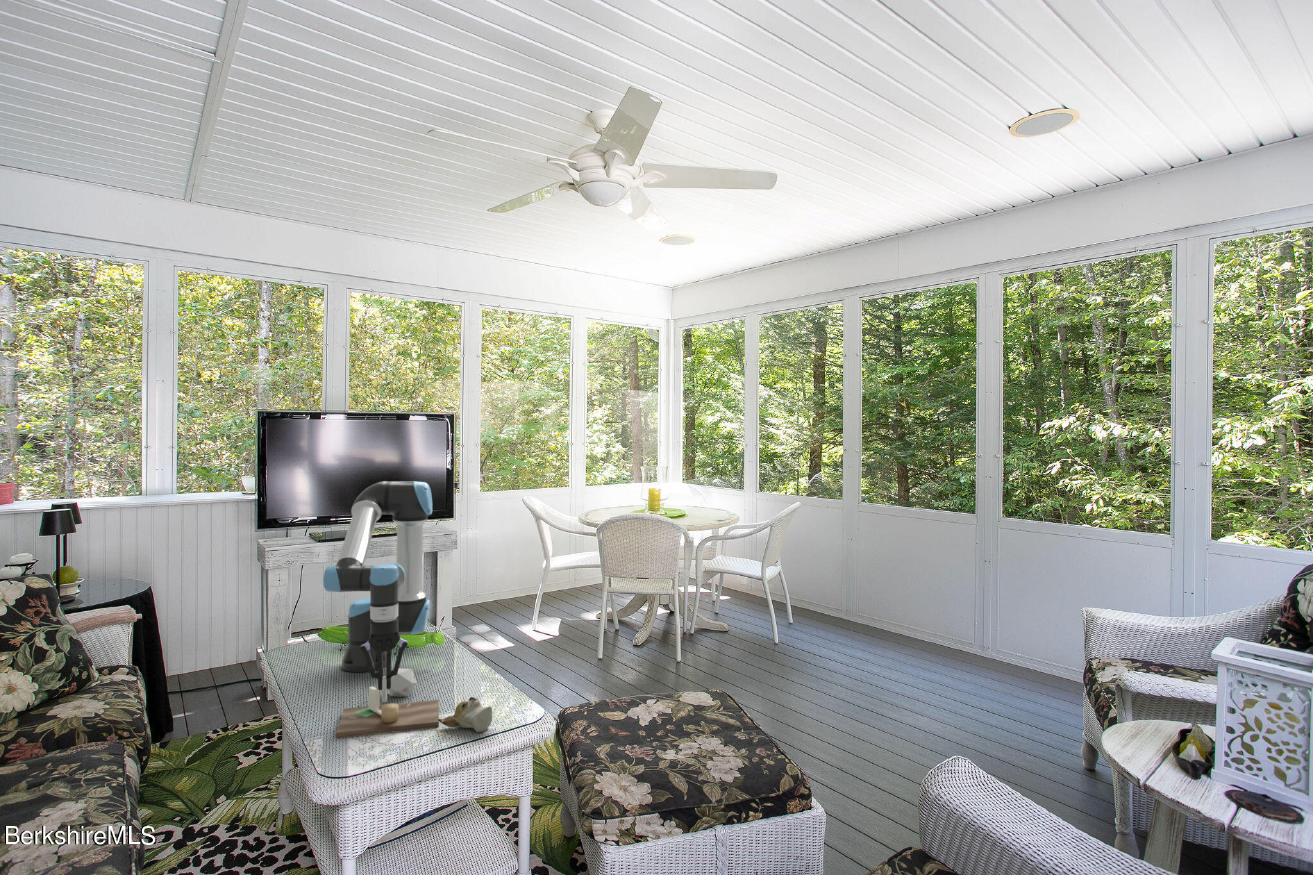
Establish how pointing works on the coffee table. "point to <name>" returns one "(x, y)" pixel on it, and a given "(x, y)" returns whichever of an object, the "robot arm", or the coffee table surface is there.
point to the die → (402, 683)
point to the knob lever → (388, 710)
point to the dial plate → (408, 719)
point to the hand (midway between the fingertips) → (384, 700)
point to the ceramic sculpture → (470, 716)
